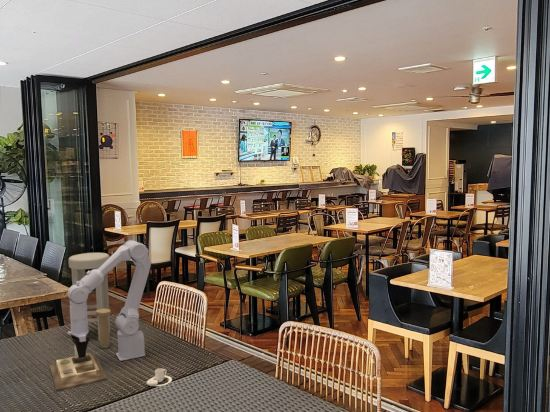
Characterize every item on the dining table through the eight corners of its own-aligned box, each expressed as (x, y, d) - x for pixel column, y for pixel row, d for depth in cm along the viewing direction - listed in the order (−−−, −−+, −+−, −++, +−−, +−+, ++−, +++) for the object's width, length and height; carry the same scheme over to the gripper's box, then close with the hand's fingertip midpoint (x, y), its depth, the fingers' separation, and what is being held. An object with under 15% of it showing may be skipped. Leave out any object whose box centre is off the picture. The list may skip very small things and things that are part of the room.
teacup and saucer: (148, 390, 158) (147, 378, 158) (143, 380, 165) (142, 369, 165) (174, 384, 162) (174, 372, 162) (168, 375, 169) (168, 363, 169)
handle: (104, 350, 191) (102, 313, 190) (95, 347, 195) (93, 310, 194) (115, 346, 195) (113, 310, 194) (105, 343, 199) (103, 307, 197)
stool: (80, 331, 214) (75, 253, 211) (116, 329, 216) (112, 251, 212) (69, 344, 199) (63, 260, 195) (108, 342, 200) (103, 258, 197)
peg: (86, 358, 179) (85, 340, 178) (87, 362, 175) (86, 343, 175) (74, 361, 177) (73, 342, 176) (76, 365, 173) (74, 346, 173)
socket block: (96, 357, 185) (95, 349, 184) (107, 379, 166) (106, 370, 165) (49, 366, 177) (49, 358, 177) (56, 391, 158) (55, 381, 158)
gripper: (64, 314, 179) (66, 350, 180) (69, 326, 166) (71, 364, 168) (84, 311, 182) (86, 346, 184) (91, 322, 170) (93, 359, 171)
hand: (81, 354), depth 176 cm, fingers closed on peg, 4 cm apart
